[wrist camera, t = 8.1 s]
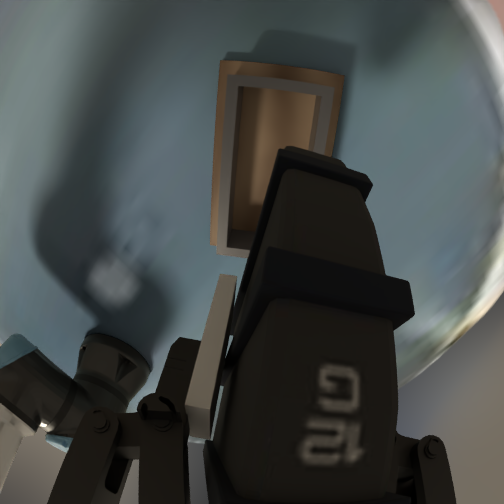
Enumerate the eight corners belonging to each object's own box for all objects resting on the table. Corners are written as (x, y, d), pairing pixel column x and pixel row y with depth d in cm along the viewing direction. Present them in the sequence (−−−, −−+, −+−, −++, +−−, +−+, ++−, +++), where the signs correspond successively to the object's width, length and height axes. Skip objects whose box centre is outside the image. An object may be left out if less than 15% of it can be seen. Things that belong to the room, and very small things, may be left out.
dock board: (211, 240, 37) (210, 244, 36) (222, 60, 25) (220, 60, 24) (309, 252, 36) (310, 257, 35) (342, 75, 25) (344, 75, 24)
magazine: (383, 105, 10) (391, 569, 3) (296, 259, 22) (262, 476, 14) (297, 76, 10) (203, 582, 2) (246, 247, 21) (198, 466, 14)
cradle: (222, 235, 35) (216, 254, 32) (234, 75, 25) (227, 74, 22) (300, 245, 35) (301, 265, 31) (327, 86, 25) (334, 87, 22)
